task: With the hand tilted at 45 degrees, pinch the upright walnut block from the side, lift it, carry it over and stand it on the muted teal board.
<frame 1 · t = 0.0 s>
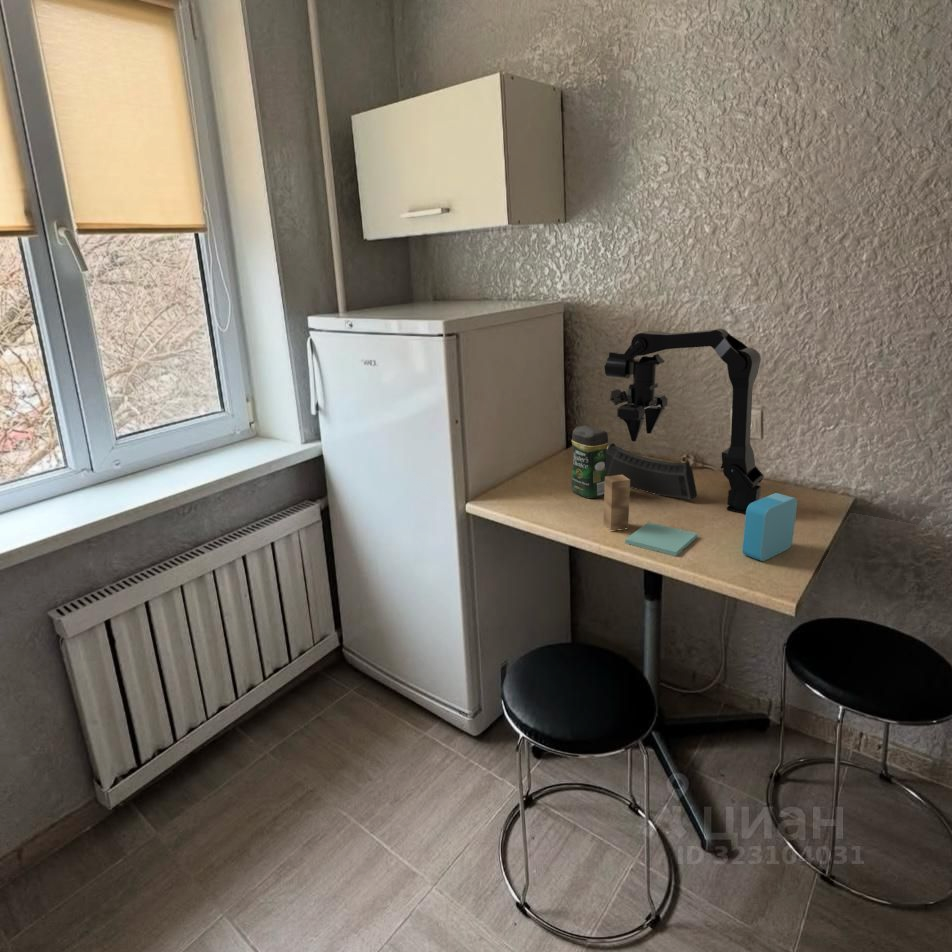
hand: (641, 437, 178), 15 cm above the table, tool pointing down, fingers open, 9 cm apart
data package: (766, 552, 142), on the table
walnut block: (615, 527, 158), on the table
magazine: (643, 490, 182), on the table
coffee jar: (588, 493, 180), on the table
teal board: (661, 540, 150), on the table
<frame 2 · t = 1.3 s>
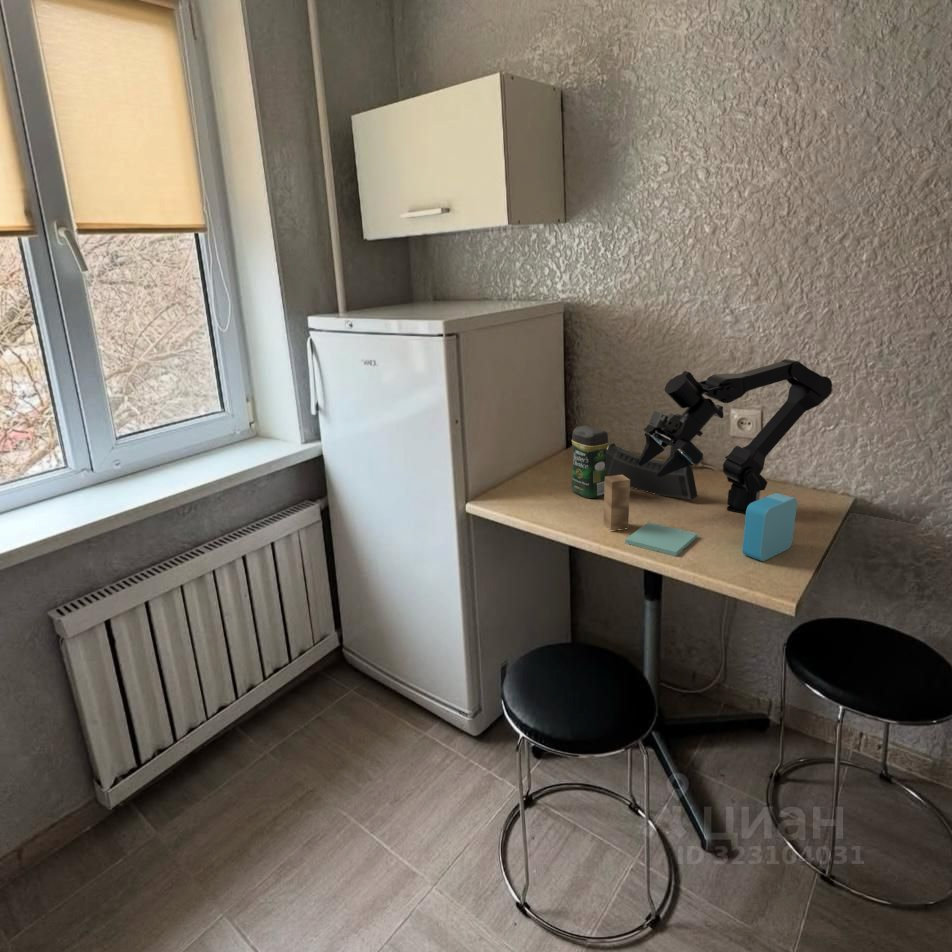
hand: (648, 470, 155), 13 cm above the table, tool tilted 45°, fingers open, 9 cm apart
nothing on the table moved.
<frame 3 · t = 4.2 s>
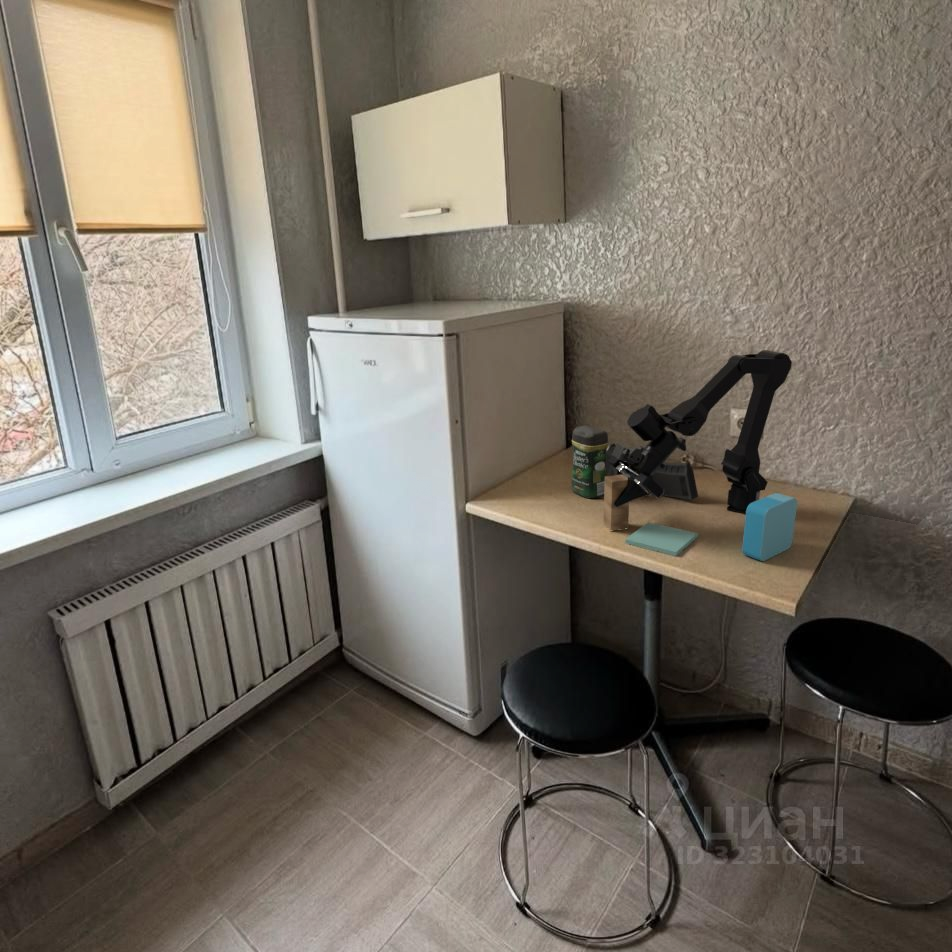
hand: (611, 502, 155), 7 cm above the table, tool tilted 45°, fingers closed on walnut block, 4 cm apart
walnut block: (615, 527, 158), on the table, touching gripper
everything else where it was.
when the fingers open (9 cm above the table, at t = 7.2 s): walnut block drops 1 cm, resting on teal board.
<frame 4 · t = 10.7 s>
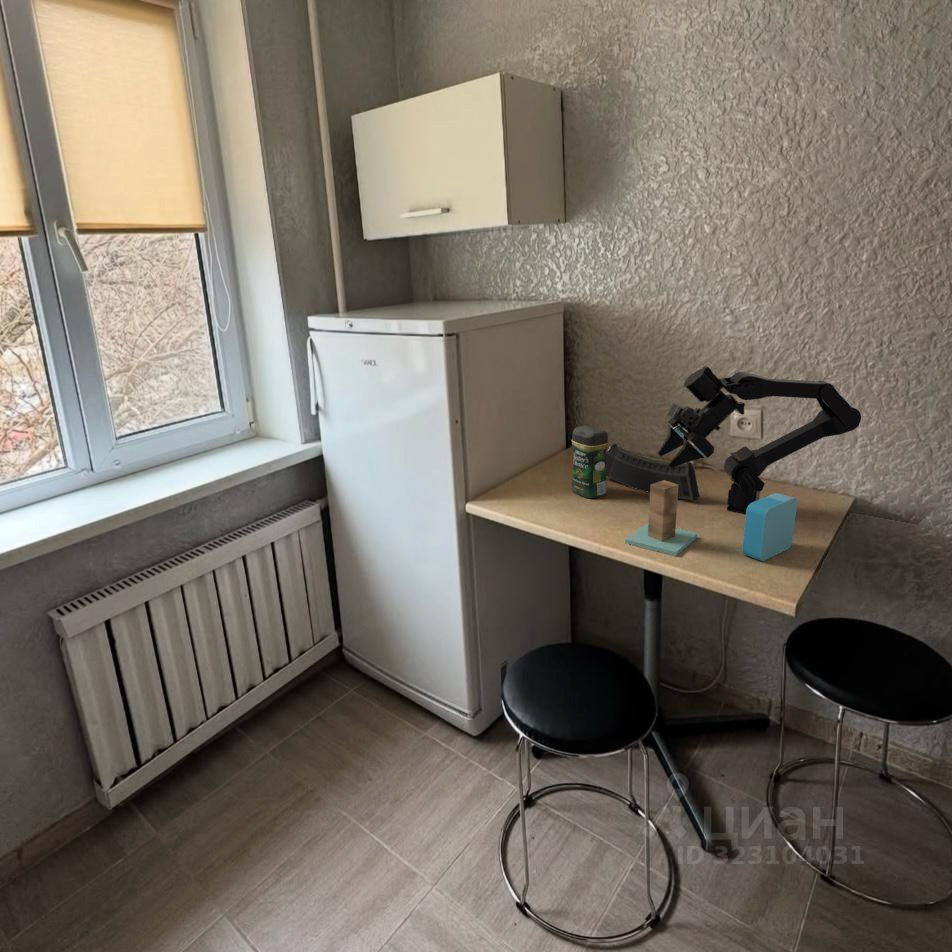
hand: (664, 460, 161), 14 cm above the table, tool tilted 45°, fingers open, 9 cm apart
walnut block: (661, 536, 149), point 1 cm above the table, touching teal board
everything else where it was.
at the end: walnut block inside the target area on the teal board (0.0 cm from its centre), point 1.0 cm above the teal board's base; walnut block tilted 0°; the gripper is holding nothing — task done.
